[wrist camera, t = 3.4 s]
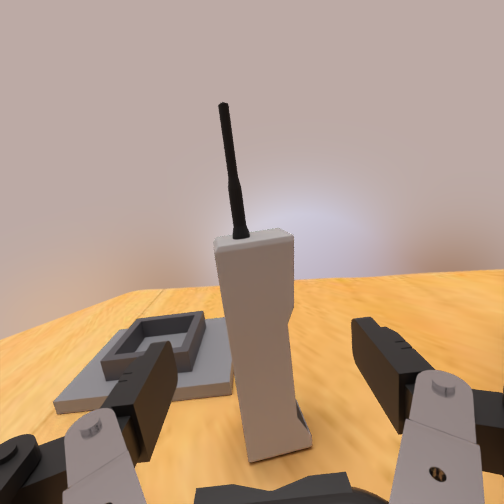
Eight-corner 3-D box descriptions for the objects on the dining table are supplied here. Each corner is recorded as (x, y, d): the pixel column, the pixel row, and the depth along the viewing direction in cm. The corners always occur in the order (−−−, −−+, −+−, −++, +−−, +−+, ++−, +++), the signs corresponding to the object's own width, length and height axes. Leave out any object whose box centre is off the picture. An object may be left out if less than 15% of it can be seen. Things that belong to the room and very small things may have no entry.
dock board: (237, 324, 40) (234, 300, 39) (231, 394, 27) (225, 360, 26) (121, 338, 41) (115, 314, 40) (57, 414, 27) (45, 380, 26)
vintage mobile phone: (313, 449, 20) (280, 85, 14) (249, 466, 20) (187, 93, 14) (297, 410, 24) (266, 107, 18) (243, 423, 23) (192, 114, 17)
